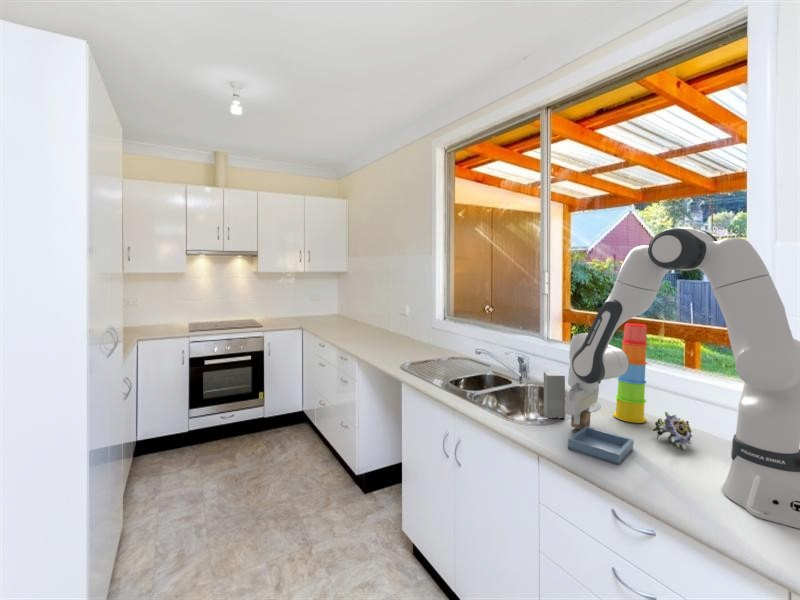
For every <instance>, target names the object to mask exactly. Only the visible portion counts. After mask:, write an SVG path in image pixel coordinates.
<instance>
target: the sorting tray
mask: <svg viewBox="0 0 800 600" xmlns="http://www.w3.org/2000/svg"><path fill="white" fill-rule="evenodd" d="M567 449H568V450H570V451H575V452H578V453H580V454H583V455H586V456H589V457H592V458H595V459H598V460H602V461H604V462H607V463H610V464H614V465H617V466H620V465H621V464H622V462H624V460H626V458H627V457H628V456H629V455H630V454H631V452H632V451H633V450H634V439H632V438H630V437H625V436H621V435H619V434H615V433H612V432H608V431H605V430H601V429H597V428H594V427H591V426H590V427H587V426H585V427H584V428H582V429H579V430H578V431H576V432H575V433H574V434H573V435H572V436H570V437H569V438H568V441H567Z"/></svg>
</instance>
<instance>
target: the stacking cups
mask: <svg viewBox="0 0 800 600" xmlns="http://www.w3.org/2000/svg"><path fill="white" fill-rule="evenodd" d="M647 329H648V327H647V325H646V324H643V323H633V322H632V323H630V322H625V324H624V327H623V340H621V344H622V346H621V350H623V351H624V352H625V353H626V355H627V357H628V359H629V368H628V371H627V372H626V373H625V374H624V375H622V376H619V377H616V378H617V380H618V383H617V394H615V396H614V397H615V399H616V403H615V404H616V405H615V407H616V408H615V412H614V413H613V417H614V418H616V419H618V420H621V421H624V422H628V423H633V424H634V423H635V424H640V423H645V422H646V421H647V418H646V417H645V404H646V403H647V399H645V391H646V384H647V380H646V366H647V364H648V362H647V361H646V355H647V354H646V353H647V346H648V343H647V334H648V333H647V331H648V330H647Z"/></svg>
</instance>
